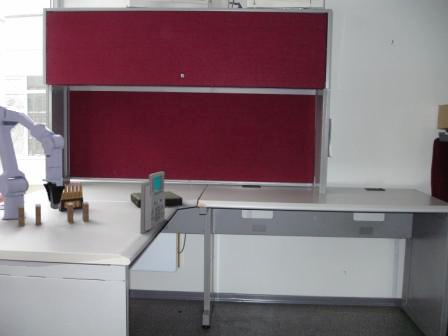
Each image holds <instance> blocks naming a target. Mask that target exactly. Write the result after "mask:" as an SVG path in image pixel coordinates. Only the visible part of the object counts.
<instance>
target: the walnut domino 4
mask: <svg viewBox="0 0 448 336" xmlns="http://www.w3.org/2000/svg"><path fill="white" fill-rule="evenodd" d="M89 209H90V207H89V202H88V201H83V202H82V222H85V223H86V222H87V223H88V222H89V221H90V219H89V218H90V216H89V215H90V210H89Z"/></svg>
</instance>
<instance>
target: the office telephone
mask: <svg viewBox="0 0 448 336" xmlns="http://www.w3.org/2000/svg"><path fill="white" fill-rule="evenodd" d="M165 174H166V173H165V171H158V172H154V173H151V174H149V175H148V181H144V182H143V181H142V182H141V186H140V189H141V190H140V193H141V208H140V220H139V221H140V228H139V229H140V231H139V232H140V233H139V234H145V233H146V232H148V231H149V230H151V229H152V228H155V226H157V225H159V224H160V223H161V222H163V221H165V219H166V207H165V193H164V192H165Z"/></svg>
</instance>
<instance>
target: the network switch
mask: <svg viewBox="0 0 448 336" xmlns="http://www.w3.org/2000/svg"><path fill="white" fill-rule="evenodd" d="M164 193H165V206H167V207H181V206H183V197H182V196H181V195H178V194H177V193H174V192H172V191H170V190H169V191H168V190H167V191H164ZM130 201H131V202H132V203H133V204H134V205H135V206H136V207H137V208H139V209H141V192H131V194H130Z"/></svg>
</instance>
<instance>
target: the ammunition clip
mask: <svg viewBox="0 0 448 336" xmlns="http://www.w3.org/2000/svg"><path fill="white" fill-rule="evenodd" d="M64 185H65V189H64V190H63V193H62V196H61V201H60V204H59V209H58V211H59V212H62V213H63V212H67V203H73V211H75V210H81V209H82V202H84V197H83V196H84V195H83V184H82V182H80V183H79V184H78V182H76V184H74V182H72V184H71V183H70V182H69V183H68V185H67V183H64Z"/></svg>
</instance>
